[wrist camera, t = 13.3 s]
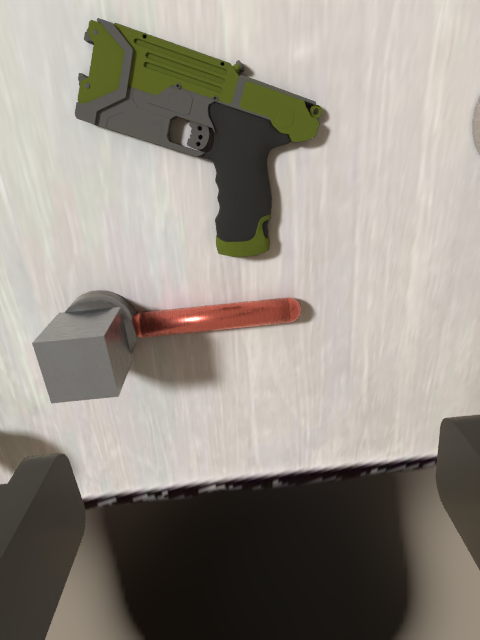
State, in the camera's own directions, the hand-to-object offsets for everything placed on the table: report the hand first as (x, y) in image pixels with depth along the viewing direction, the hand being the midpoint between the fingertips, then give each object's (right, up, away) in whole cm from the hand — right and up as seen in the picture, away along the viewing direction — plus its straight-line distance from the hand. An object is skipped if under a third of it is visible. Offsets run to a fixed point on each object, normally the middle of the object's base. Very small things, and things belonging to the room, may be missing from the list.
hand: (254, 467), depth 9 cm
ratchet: (-6, +4, +33) cm, 34 cm away
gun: (-4, +18, +28) cm, 33 cm away
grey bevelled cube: (-13, +2, +30) cm, 33 cm away
